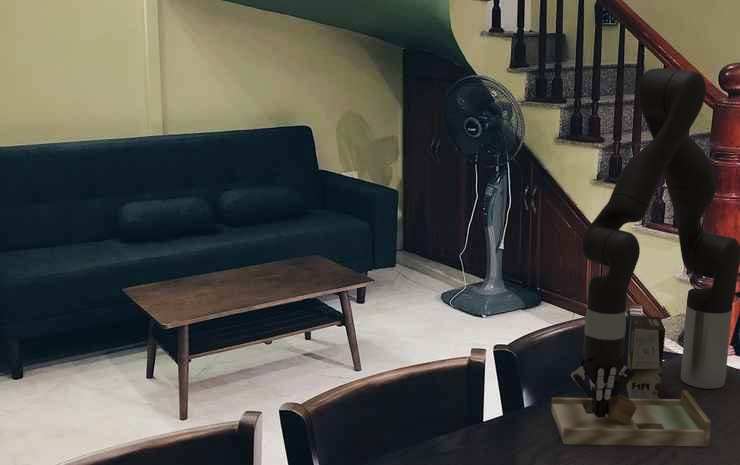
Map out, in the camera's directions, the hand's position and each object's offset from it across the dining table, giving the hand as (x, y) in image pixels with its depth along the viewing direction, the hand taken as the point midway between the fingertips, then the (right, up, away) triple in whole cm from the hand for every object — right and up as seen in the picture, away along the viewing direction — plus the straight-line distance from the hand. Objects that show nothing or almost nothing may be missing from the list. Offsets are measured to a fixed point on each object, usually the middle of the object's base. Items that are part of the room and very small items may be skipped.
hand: (599, 415), depth 170 cm
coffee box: (+14, +1, +18) cm, 23 cm away
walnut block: (+3, 0, 0) cm, 3 cm away
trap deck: (+5, -3, +2) cm, 6 cm away
